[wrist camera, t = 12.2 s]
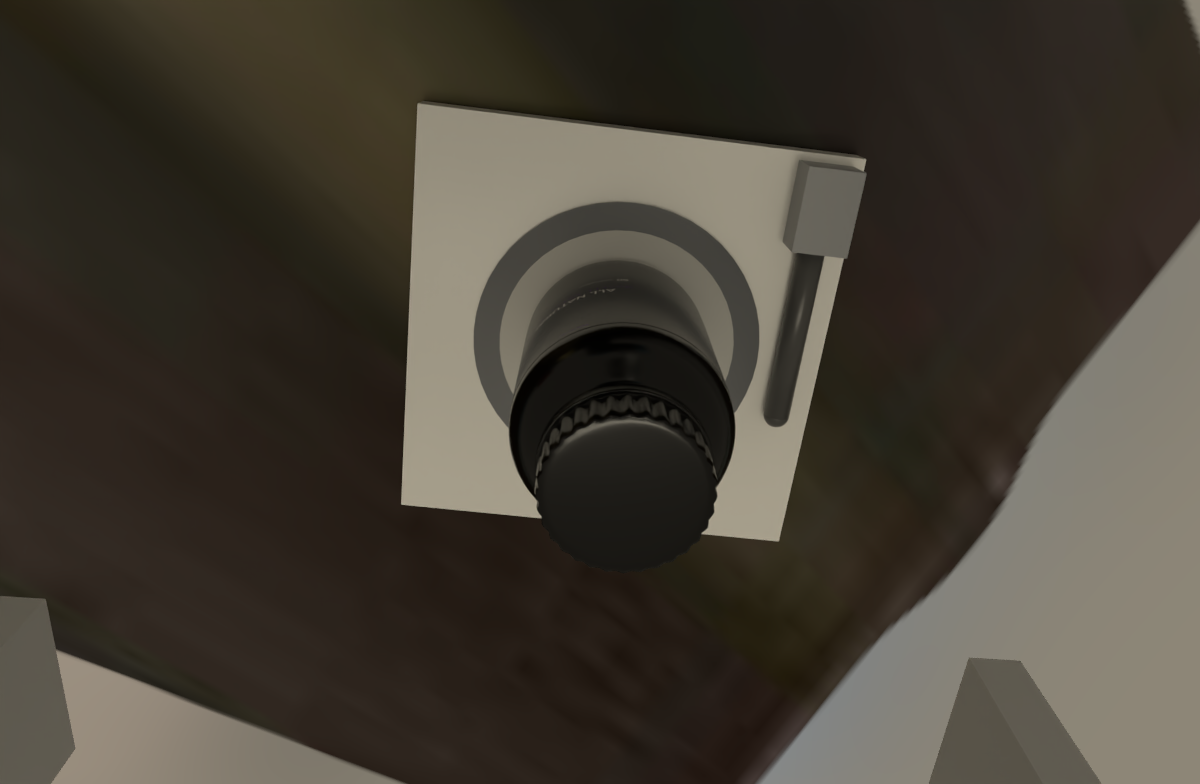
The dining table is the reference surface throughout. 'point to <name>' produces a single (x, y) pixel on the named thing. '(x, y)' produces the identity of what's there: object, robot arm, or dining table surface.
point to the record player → (605, 233)
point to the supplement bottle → (621, 417)
